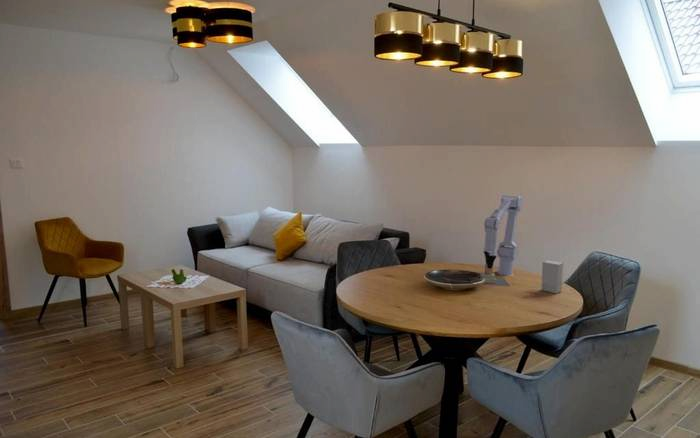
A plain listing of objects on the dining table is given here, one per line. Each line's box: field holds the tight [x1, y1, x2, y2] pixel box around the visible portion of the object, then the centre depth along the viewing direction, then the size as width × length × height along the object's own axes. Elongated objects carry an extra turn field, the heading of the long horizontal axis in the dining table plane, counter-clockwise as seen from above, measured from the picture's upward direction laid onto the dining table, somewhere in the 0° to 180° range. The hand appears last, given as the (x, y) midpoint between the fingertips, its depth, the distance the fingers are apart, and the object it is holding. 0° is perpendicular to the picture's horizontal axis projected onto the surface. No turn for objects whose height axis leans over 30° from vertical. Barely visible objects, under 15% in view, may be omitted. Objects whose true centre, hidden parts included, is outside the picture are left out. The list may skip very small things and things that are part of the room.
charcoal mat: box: [480, 277, 511, 287], centre depth 278 cm, size 16×20×1 cm
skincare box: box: [541, 260, 564, 294], centre depth 264 cm, size 8×6×15 cm
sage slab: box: [480, 271, 496, 279], centre depth 277 cm, size 6×6×2 cm
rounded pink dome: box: [483, 262, 495, 275], centre depth 277 cm, size 4×4×5 cm
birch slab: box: [479, 274, 497, 283], centre depth 278 cm, size 7×7×2 cm
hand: (488, 266), depth 277 cm, fingers open, 7 cm apart
